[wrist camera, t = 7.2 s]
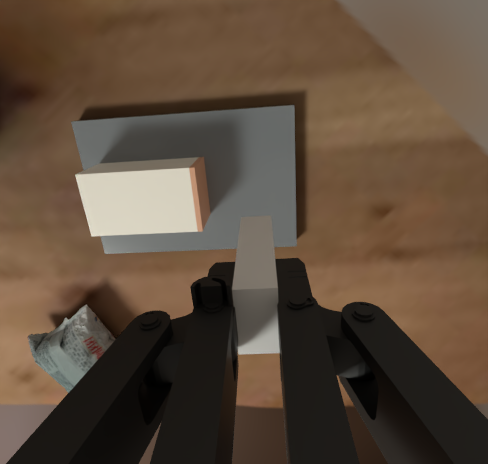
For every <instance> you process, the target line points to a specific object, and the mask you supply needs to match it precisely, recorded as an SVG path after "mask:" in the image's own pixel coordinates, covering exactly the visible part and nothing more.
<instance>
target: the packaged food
mask: <svg viewBox="0 0 488 464" xmlns="http://www.w3.org/2000/svg"><path fill="white" fill-rule="evenodd" d="M28 340H29V345H30V348H31V352H32V355H33V357H34V359H35V362H36V363H37V364H38V365H39V366H40V367H41V368H42V369H44V370H45V371H46V372H47V373H48V374H49V375H50V376H51V377H53V378H54V379H55V380H56V381H57V382H58V383H59V384H60V385H62V386H63V387H64V388H65V389H66V391H67V392H68V393H69V392H70V391H71V390H72V389H73V387H74V386H75V385H76V384H77V383H78V382H79V381H80V379H81V378H82V377H83V376H84V375H85V374H86V373H87V372H88V370H89V369H90V368H91V367H92V366H93V365H94V364H95V362H96V361H97V360H98V359H99V358H100V357H101V356H102V355H103V353H104V352H105V351H106V350H107V349H108V348H109V347H110V346H111V344H112V343H113V342H114V341H115V340H116V339H115V337H114V335H113V334H112V333H111V332H110V331H109V330H108V329H107V328H106V327H105V326H104V325H103V323H102V322H101V321H100V320H99V318H98V317H97V316H96V314H95V313H94V312H92V310H91V309H90V308H89V307H88V305H87V304H86V305H85V306H83V307H82V308H81V309H80V310H79V311H78V312H77V313H76V314H75V315H74V316H73V317H72V318H71V319H69V320H68V319H67V318H65V319H64V321H63V323H62V324H61V325H59V326H58V327H57V328H56V329H55V330H54V331H51V332H50V333H43V334H35V335H33V334H31V335H29V336H28Z"/></svg>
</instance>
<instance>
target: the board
mask: <svg viewBox="0 0 488 464" xmlns="http://www.w3.org/2000/svg"><path fill="white" fill-rule="evenodd" d="M71 123H72V127H73V131H74V135H75V139H76V142H77V146H78V150H79V154H80V158H81V162H82V166H83V170H86V169H88V168H91V167H93V166H95V165H97V164H99V163H115V162H130V161H146V160H162V159H178V158H194V157H204V163H205V171H206V179H207V188H208V196H209V205H210V213H211V214H210V216H209V218H208V221H207V223H206V225H205V228H204V230H203V231H201V232H179V233H156V234H133V235H111V236H101V240H102V244H103V248H104V252H105V254H112V253H138V252H163V251H188V250H213V249H237V246H238V238H239V231H240V223H241V217H253V216H271V220H272V230H273V241H274V247H288V246H297V240H296V176H295V112H294V104H291V105H278V106H264V107H251V108H237V109H224V110H210V111H197V112H183V113H170V114H157V115H143V116H130V117H116V118H103V119H89V120H78V121H72V122H71Z"/></svg>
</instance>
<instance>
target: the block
mask: <svg viewBox="0 0 488 464" xmlns="http://www.w3.org/2000/svg"><path fill="white" fill-rule="evenodd" d="M75 176H76V180H77V183H78V187H79V191H80V195H81V198H82V202H83V206H84V210H85V213H86V217H87V221H88V225H89V228H90V232H91V236H111V235H133V234H156V233H179V232H201V231H203V230H204V228H205V225H206V223H207V221H208V218H209V216H210V214H211V213H210V205H209V196H208V188H207V179H206V171H205V163H204V157H194V158H178V159H162V160H146V161H130V162H115V163H99V164H97V165H95V166H93V167H91V168H88V169H86V170H84V171H82V172H80V173H78V174H76V175H75Z"/></svg>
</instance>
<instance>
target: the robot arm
mask: <svg viewBox="0 0 488 464" xmlns="http://www.w3.org/2000/svg"><path fill="white" fill-rule="evenodd" d="M191 294H192V300H193V306H194V309H193V312H192V313H190V314H188V315H186V316H183V317H180V318H176V319H172V320H171V319H170V315H168V314H167V313H166V312H163V311H150V312H146V313H143V314H141V315H139V316H137V317H136V318H135V319H134V320H133V321H132V322H131V323H130V324H129V325H128V326H127V327H126V329H125V330H124V331H123V332H122V333H121V334H120V335H119V336H118V338H117V339H116V340H115V341H114V342H113V343H112V344H111V346H110V347H109V348H108V349H107V350H106V351H105V352H104V353H103V355H102V356H101V357H100V358H99V359H98V360H97V361H96V362H95V364H94V365H93V366H92V367H91V368H90V369H89V370H88V372H87V373H86V374H85V375H84V376H83V377H82V378H81V379H80V381H79V382H78V383H77V384H76V385H75V386H74V387H73V389H72V390H71V391H70V392H69V393H68V394H67V395H66V396H65V398H64V399H63V400H62V401H61V402H60V403H59V404H58V405H57V407H56V408H55V409H54V410H53V411H52V412H51V414H50V415H49V416H48V417H47V418H46V419H45V420H44V421H43V423H42V424H41V425H40V426H39V427H38V428H37V429H36V430H35V432H34V433H33V434H32V435H31V436H30V437H29V438H28V440H27V441H26V442H25V443H24V444H23V445H22V446H21V447H20V449H19V450H18V451H17V452H16V453H15V454H14V455H13V457H12V458H11V459H10V460H9V461H8V462H7V463H6V464H139V462H140V460H141V458H142V456H143V454H144V452H145V450H146V449H147V447H148V445H149V443H150V441H151V439H152V438H153V436H154V434H155V432H156V430H157V429H158V427H159V425H160V423H161V426H160V430H159V433H158V437H157V440H156V444H155V448H154V451H153V455H152V458H151V462H150V464H232V454H233V440H234V425H235V409H236V395H237V380H238V356H237V352H238V353H239V354H264V353H280V371H281V382H282V396H283V410H284V423H285V436H286V450H287V464H359V460H358V456H357V453H356V449H355V445H354V441H353V437H352V433H351V430H350V426H349V422H348V418H347V414H346V410H345V407H344V403H343V399H342V395H341V391H340V387H339V383H338V380H337V376H336V375H338V376H339V378H340V382H341V383H342V385H343V387H344V388H345V390H346V392H347V394H348V395H349V397H350V399H351V400H352V402H353V404H354V406H355V407H356V409H357V411H358V412H359V414H360V416H361V417H362V419H363V421H364V423H365V424H366V426H367V428H368V430H369V431H370V433H371V435H372V436H373V438H374V440H375V441H376V443H377V445H378V447H379V448H380V450H381V451H382V453H383V455H384V457H385V459H386V460H387V462H388V464H488V419H487V418H486V417H485V416H484V415H483V414H482V413H481V412H480V411H479V410H478V409H477V408H476V407H475V406H474V405H473V404H472V403H471V402H470V400H469V399H468V398H467V397H466V396H465V395H464V394H463V393H462V392H461V391H460V390H459V389H458V388H457V387H456V386H455V385H454V384H453V383H452V382H451V381H450V380H449V379H448V378H447V377H446V375H445V374H444V373H443V372H442V371H441V370H440V369H439V368H438V367H437V366H436V365H435V364H434V363H433V362H432V361H431V360H430V359H429V358H428V357H427V356H426V355H425V354H424V353H423V352H422V351H421V349H420V348H419V347H418V346H417V345H416V344H415V343H414V342H413V341H412V340H411V339H410V338H409V337H408V336H407V335H406V334H405V333H404V332H403V331H402V330H401V329H400V328H399V327H398V326H397V324H396V323H395V322H394V321H393V320H392V319H391V318H390V317H389V316H388V315H387V314H386V313H385V312H384V311H383V310H382V309H380V308H379V307H378V306H376V305H373V304H371V303H366V302H353V303H350V304H347V305H346V306H345V307H344V308H343V309H342V312H338V311H333V310H328V309H325V308H323V307H321V306H320V305H318V303H317V301H316V299H315V298H313V297H312V293H311V289H310V285H309V281H308V277H307V273H306V269H305V265H304V263H303V262H302V261H301V260H300V259H298V258H288V259H275V252H274V241H273V230H272V220H271V216H253V217H241V223H240V231H239V238H238V246H237V254H236V262H221V263H215V264H214V265H213V266H212V267H211V268H210V269H209V273H208V277H204V278H201V279H198V280H197V281H195V282H194V283H193V284H192V286H191ZM161 421H162V422H161Z"/></svg>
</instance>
